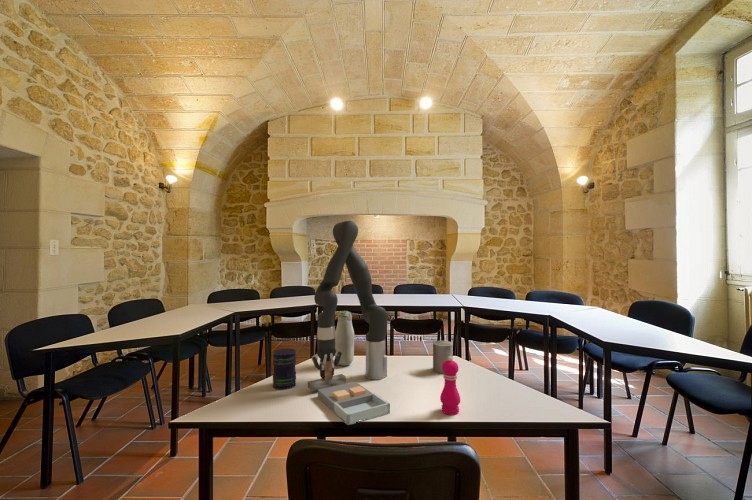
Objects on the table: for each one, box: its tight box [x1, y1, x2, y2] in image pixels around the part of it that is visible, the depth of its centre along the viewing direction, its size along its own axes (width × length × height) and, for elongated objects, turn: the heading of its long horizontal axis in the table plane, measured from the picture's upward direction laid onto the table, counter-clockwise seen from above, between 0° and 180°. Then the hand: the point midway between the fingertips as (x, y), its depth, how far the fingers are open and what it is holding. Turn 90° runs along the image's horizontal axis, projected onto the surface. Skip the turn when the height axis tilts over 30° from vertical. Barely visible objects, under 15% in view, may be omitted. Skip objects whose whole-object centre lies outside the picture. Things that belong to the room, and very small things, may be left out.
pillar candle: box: [432, 340, 454, 375], centre depth 171 cm, size 10×10×15 cm
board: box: [317, 381, 374, 413], centre depth 137 cm, size 17×16×3 cm
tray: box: [333, 392, 391, 426], centre depth 125 cm, size 17×11×4 cm, turn 121°
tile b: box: [333, 390, 350, 401], centre depth 132 cm, size 5×5×2 cm
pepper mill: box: [439, 356, 461, 416], centre depth 127 cm, size 7×7×20 cm
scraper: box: [307, 360, 347, 392], centre depth 148 cm, size 16×4×10 cm, turn 122°
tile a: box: [349, 385, 366, 397], centre depth 136 cm, size 5×5×2 cm
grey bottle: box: [334, 310, 355, 367], centre depth 180 cm, size 10×10×28 cm
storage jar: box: [272, 348, 297, 391], centre depth 152 cm, size 10×10×15 cm
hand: (327, 377), depth 148 cm, fingers closed on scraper, 3 cm apart
